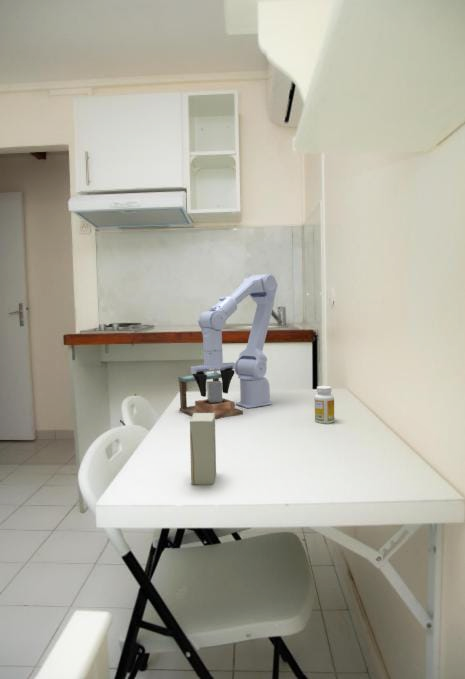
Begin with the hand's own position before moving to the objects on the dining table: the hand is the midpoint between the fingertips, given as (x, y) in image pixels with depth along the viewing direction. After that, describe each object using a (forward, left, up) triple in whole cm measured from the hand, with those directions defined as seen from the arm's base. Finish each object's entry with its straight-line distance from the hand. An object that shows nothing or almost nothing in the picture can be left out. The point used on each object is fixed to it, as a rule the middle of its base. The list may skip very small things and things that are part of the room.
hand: (214, 394), depth 134 cm
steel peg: (0, 0, -5) cm, 5 cm away
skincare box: (+26, +44, -6) cm, 52 cm away
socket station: (0, -3, -6) cm, 7 cm away
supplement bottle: (-21, +26, -6) cm, 34 cm away
